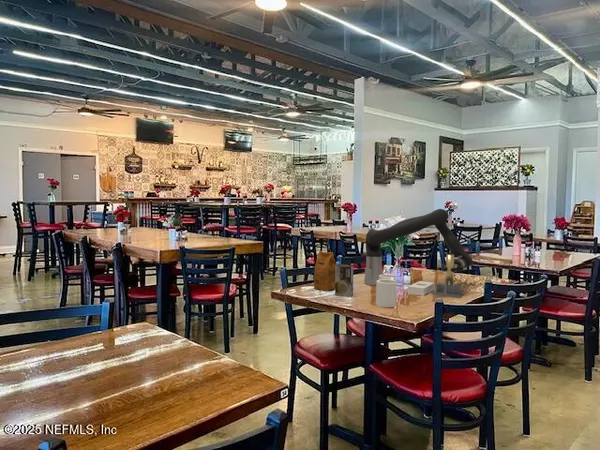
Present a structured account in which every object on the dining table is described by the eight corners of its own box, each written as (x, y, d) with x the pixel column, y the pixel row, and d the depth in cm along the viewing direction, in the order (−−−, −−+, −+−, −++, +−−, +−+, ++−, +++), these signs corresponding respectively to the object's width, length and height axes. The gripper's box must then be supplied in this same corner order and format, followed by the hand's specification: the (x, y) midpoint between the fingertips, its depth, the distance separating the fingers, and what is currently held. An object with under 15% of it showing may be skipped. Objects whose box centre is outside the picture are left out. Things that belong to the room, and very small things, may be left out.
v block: (459, 297, 244) (459, 286, 243) (431, 294, 252) (431, 283, 252) (463, 294, 252) (464, 283, 252) (436, 291, 260) (437, 280, 260)
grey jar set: (377, 296, 246) (378, 274, 245) (395, 297, 244) (396, 274, 243) (375, 307, 222) (375, 282, 221) (395, 308, 220) (396, 283, 219)
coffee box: (353, 294, 250) (354, 265, 249) (351, 296, 244) (351, 266, 243) (337, 292, 253) (337, 264, 252) (334, 295, 247) (334, 265, 246)
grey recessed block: (423, 295, 249) (423, 288, 248) (407, 293, 254) (408, 286, 253) (434, 289, 265) (434, 282, 265) (419, 287, 270) (419, 281, 270)
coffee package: (323, 286, 271) (323, 249, 270) (338, 289, 262) (339, 251, 260) (311, 288, 264) (311, 250, 263) (326, 292, 255) (326, 253, 254)
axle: (448, 287, 251) (449, 255, 250) (444, 286, 255) (444, 254, 254) (454, 287, 253) (455, 255, 252) (449, 285, 257) (450, 254, 255)
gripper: (444, 258, 269) (435, 261, 254) (469, 260, 261) (462, 264, 247) (444, 271, 269) (435, 275, 255) (469, 273, 262) (461, 277, 247)
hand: (448, 269), depth 251 cm, fingers closed on axle, 4 cm apart
